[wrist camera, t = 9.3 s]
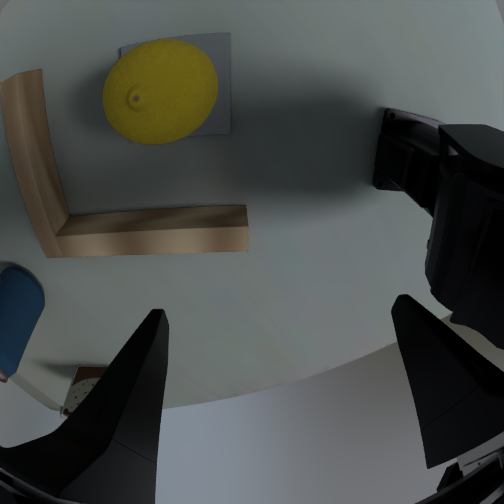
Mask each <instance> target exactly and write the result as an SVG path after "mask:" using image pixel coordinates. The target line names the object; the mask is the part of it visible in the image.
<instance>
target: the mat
mask: <svg viewBox="0 0 504 504" xmlns="http://www.w3.org/2000/svg"><path fill="white" fill-rule="evenodd" d="M165 39H174V40H181V41H184V42H187V43H189V44H192V45H194V46H196V47H197V48H198V49H200V50H201V51H203V52H204V53H205V54H206V55H207V57H208V58H209V59H210V61H211V62H212V63H213V65H214V68H215V71H216V74H217V78H218V93H217V98H216V102H215V105H214V107H213V109H212V111H211V113H210V115H209V116H208V117H207V118H206V120H205V121H204V122H203V123H202V125H201V126H200V127H198V128H197V129H196V130H194V131H193V132H192V133H191V134H189V135H188V136H203V135H223V134H231V96H230V33H211V34H198V35H187V36H179V37H171V38H165ZM158 40H160V39H158ZM153 41H154V40H153ZM147 42H149V41H147ZM144 43H146V42H142V43H137V44H133V45H128V46H124V47H121V57H122V56H123V55H125V54H126V53H127V52H129V51H130V50H131V49H133V48H134V47H137V46H139V45H141V44H144ZM188 136H185V137H188ZM129 143H134V142H132V141H131V140H129Z"/></svg>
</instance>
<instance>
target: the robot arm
mask: <svg viewBox="0 0 504 504" xmlns="http://www.w3.org/2000/svg"><path fill="white" fill-rule="evenodd" d="M390 113H392V117H391V118H390V117H389V115H390ZM379 181H381V182H380V184H379V185H377V183H378V182H379ZM373 186H374V187H375V188H376V189H378V190H390V191H403V192H405V193H406V194H407V195H408V196H410V197H411V198H412V199H413V200H414V201H415V202H416V203H417V204H418V205H419V206H420V207H422V208H423V209H424V210H425V211H427V212H428V213H429V214H430V215H431V216H432V217H433V221H432V227H431V233H430V239H429V240H428V243H427V249H428V251H427V256H426V260H425V275H426V277H427V280H428V282H429V285H430V287H431V289H430V292H431V294H432V295H433V296H434V297H435V298H436V300H437V301H438V302H439V303H441V304H442V305H443V306H445V307H446V308H447V309H449V310H450V311H452V312H453V313H452V315H451V317H450V322H451V323H454V324H459V325H465V326H467V327H469V328H472V329H474V330H476V331H478V332H479V333H480V334H482V335H483V336H484V337H486V338H487V339H488V340H489V341H490V342H491V343H492V344H493V345H495V346H496V347H497V348H500V349H503V350H504V132H503V131H501V130H498V129H496V128H493V127H491V126H488V125H481V124H445V123H443V122H440V121H437V120H433V119H430V118H426V117H423V116H419V115H415V114H411V113H407V112H403V111H399V110H395V109H386V110H385V112H384V117H383V124H382V131H381V134H380V135H379V141H378V147H377V153H376V159H375V172H374V177H373ZM391 315H392V319H393V323H394V327H395V332H396V337H397V341H398V345H399V349H400V352H401V355H402V359H403V362H404V365H405V369H406V372H407V376H408V380H409V383H410V387H411V391H412V395H413V398H414V403H415V407H416V411H417V416H418V420H419V425H420V431H421V436H422V441H423V446H424V452H425V459H426V465H427V469H430V468H432V467H435V466H437V465H440V464H442V463H444V462H447V461H449V460H451V459H453V458H456V457H457V462H456V463H454V464H452V465H450V466H449V467H447V468H446V470H445V473H444V475H443V477H442V479H441V481H440V483H439V486H438V487H437V493H435V494H433V495H431V496H429V497H427V498H425V499H423V500H422V501H419V502H417V503H415V504H504V372H503V371H502V370H500V369H499V368H498V367H496V366H495V365H494V364H492V363H491V362H490V361H489V360H487V359H486V358H485V357H483V356H482V355H481V354H480V353H478V352H477V351H476V350H475V349H474V348H472V347H471V346H470V345H469V344H468V343H466V341H464V340H463V339H462V338H461V337H460V336H459V335H457V334H456V333H455V332H454V331H453V330H451V329H450V328H449V327H448V326H447V325H445V324H444V323H443V322H442V321H441V320H440V319H438V318H437V317H436V316H435V315H433V314H432V313H431V312H430V311H428V310H427V309H426V308H425V307H423V306H422V305H421V304H420V303H418V302H417V301H416V300H415V299H413V298H412V297H411V296H409V295H408V294H402V295H399V296H398V297H397V299H396V301H395V303H394V305H393V307H392V309H391ZM168 343H169V323H168V320H167V317H166V314H165V311H164V310H163V309H152V310H151V311H150V313H149V314H148V315H147V317H146V318H145V319H144V320H143V322H142V323H141V324H140V325H139V327H138V328H137V329H136V331H135V332H134V333H133V335H132V336H131V337H130V338H129V340H128V341H127V342H126V344H125V345H124V346H123V348H122V349H121V350H120V352H119V353H118V354H117V356H116V357H115V358H114V360H113V361H112V362H111V364H110V365H109V366H108V368H107V369H106V370H105V372H104V373H103V374H102V376H101V378H100V379H99V380H98V381H97V383H96V384H95V385H94V387H93V388H92V389H91V391H90V392H89V393H88V395H87V396H86V397H85V398H84V399H83V400H82V402H81V403H80V404H79V405H78V406H77V407H76V409H75V410H74V411H73V412H72V413H71V414H70V415H69V416H68V418H67V419H66V420H65V421H64V422H63V423H62V424H61V426H59V427H58V429H56V430H55V431H54V432H52V433H50V434H48V435H46V436H43V437H40V438H38V439H35V440H32V441H29V442H26V443H24V444H21V445H18V446H15V447H11V448H4V447H2V446H0V468H2V469H3V470H2V469H0V504H155V489H156V488H155V487H156V470H157V455H158V442H159V433H160V423H161V414H162V405H163V397H164V390H165V382H166V375H167V367H168ZM4 470H5V471H4Z"/></svg>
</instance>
